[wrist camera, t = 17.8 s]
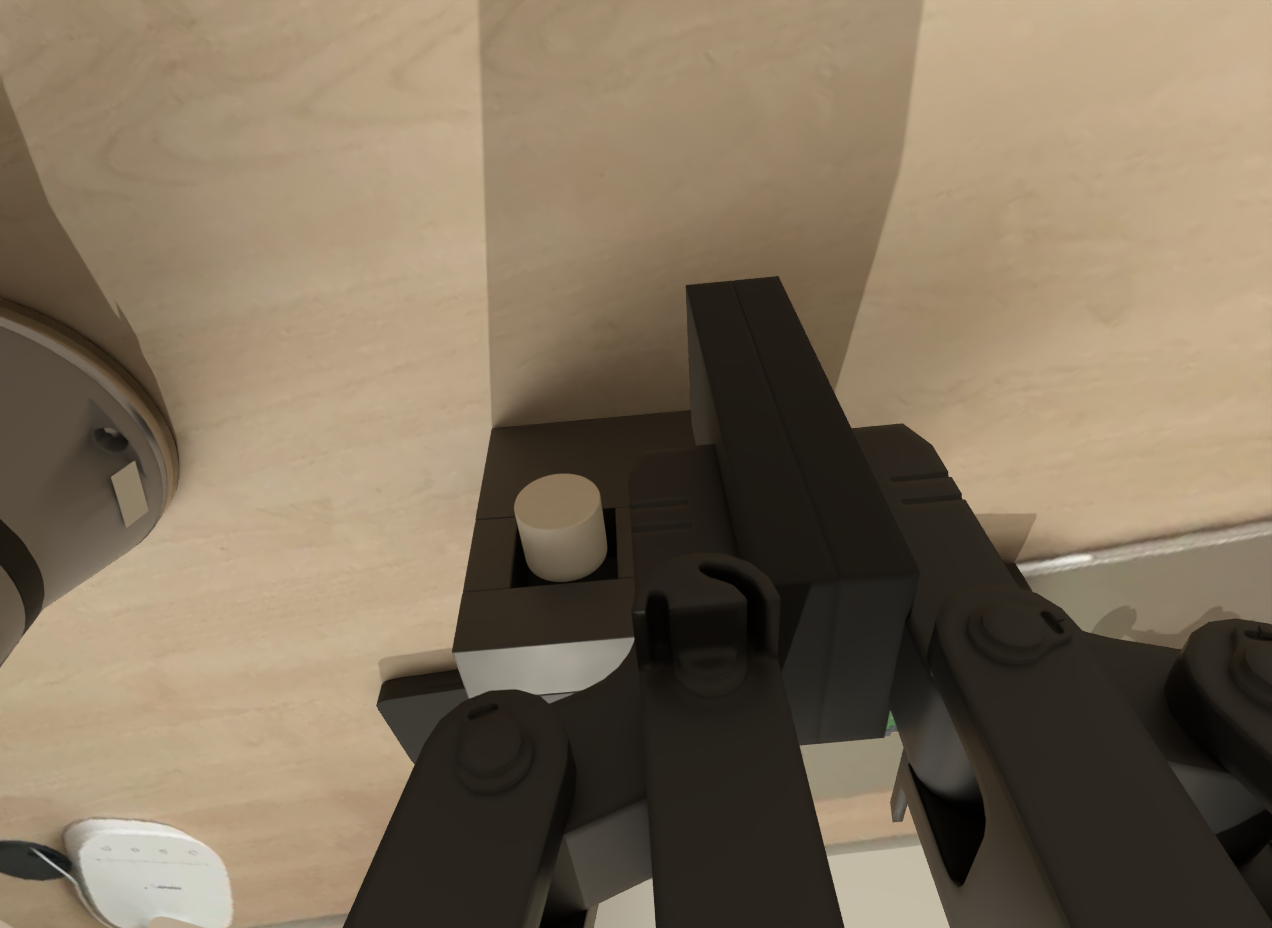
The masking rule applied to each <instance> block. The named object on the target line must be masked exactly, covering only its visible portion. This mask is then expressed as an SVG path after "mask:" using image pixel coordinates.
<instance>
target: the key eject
mask: <svg viewBox="0 0 1272 928" xmlns="http://www.w3.org/2000/svg"><path fill="white" fill-rule="evenodd" d="M514 511H515V516H516V520H517V524H518V529H519V533H520V537H521V541H522V546H523V550H524V554H525V558H526V562H527V565H528V567H529V568H530V570H531V571H532V572H533V573H534V574H535V575H537V576H538V577H540V578H542V579H545V580H548V581H553V582H569V581H574V580H578V579H581V578H583V577H586V576H588V575H589V574H591V573H592V572H594V571H595V570H596V569H597V568H598V567H599V566H600V565H601V564H602V563H603V561H604V559H605V557H606V554H607V540H606V533H605V526H604V519H603V512H602V504H601V497H600V493H599V490H598V488H597V487H596V486H595V484H594V483H593V482H591V481H590V480H588V479H587V478H584V477H582V476H579V475H574V474H554V475H549V476H545V477H542V478H540V479H537V480H535V481H533V482H532V483H530V484H528V485H527V486H526V487H525V488H524V489H523V490H522V491H521V492H520V493H519V494H518V496H517V498H516V500H515V504H514Z"/></svg>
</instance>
